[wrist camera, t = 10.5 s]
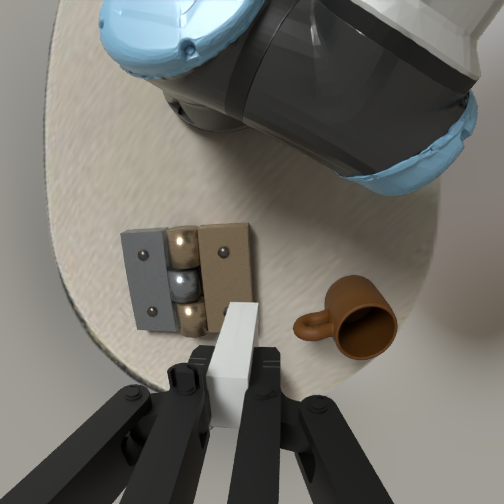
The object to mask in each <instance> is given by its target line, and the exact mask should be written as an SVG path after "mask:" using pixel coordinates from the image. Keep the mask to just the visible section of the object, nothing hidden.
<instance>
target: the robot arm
mask: <svg viewBox="0 0 504 504" xmlns="http://www.w3.org/2000/svg"><path fill="white" fill-rule="evenodd" d="M503 5H504V0H104V1H103V4H102V7H101V10H100V15H99V24H98V25H99V28H100V34H101V35H100V40H101V43H102V45H103V47H104V49H105V50H106V52H107V53H108V55H109V56H110V57H111V58H112V59H113V60H114V61H116V62H117V63H118V64H119V65H120V67H121V68H122V69H123V70H125V71H126V72H127V73H128V74H130V75H132V76H134V77H137V78H142V79H145V80H146V81H148V82H150V83H152V84H153V85H155V86H157V87H158V88H160V89H162V90H163V93H164V96H165V99H166V101H167V102H168V104H169V106H170V107H171V108H172V110H173V111H174V112H175V113H176V114H177V115H178V116H179V117H180V118H181V119H183V120H184V121H186V122H187V123H189V124H191V125H193V126H195V127H198V128H200V129H203V130H207V131H212V132H232V131H237V130H241V129H244V128H247V127H249V126H250V127H252V128H254V129H257V130H259V131H261V132H263V133H265V134H267V135H269V136H271V137H273V138H275V139H277V140H279V141H281V142H283V143H284V144H286V145H288V146H290V147H292V148H294V149H296V150H298V151H300V152H302V153H303V154H305V155H307V156H309V157H311V158H313V159H314V160H316V161H318V162H320V163H322V164H323V165H325V166H327V167H329V168H331V169H332V170H333V171H334V172H335V173H336V174H337V175H338V176H340V177H341V178H343V179H347V180H348V181H354V182H356V183H358V184H360V185H362V186H364V187H365V188H367V189H369V190H371V191H373V192H375V193H377V194H380V195H385V196H400V195H405V194H408V193H411V192H414V191H416V190H418V189H420V188H422V187H424V186H425V185H427V184H429V183H430V182H432V181H433V180H434V179H436V178H437V177H438V176H440V175H441V174H442V173H443V172H444V171H445V170H446V169H447V168H448V167H449V166H450V165H451V164H452V163H453V162H454V161H455V160H456V158H457V157H458V156H459V154H460V153H461V152H462V150H463V149H464V144H463V140H465V139H466V138H467V137H469V136H471V135H472V133H473V130H474V128H475V125H476V121H477V110H478V106H477V102H476V99H475V97H474V95H473V92H472V90H471V88H472V87H473V85H474V84H475V83H476V82H477V81H478V80H479V78H480V77H481V71H480V65H479V59H478V54H477V40H478V39H479V37H480V36H481V35H482V34H483V32H484V31H485V29H486V28H487V27H488V26H489V24H490V23H491V22H492V20H493V19H494V18H495V16H496V15H497V13H498V12H499V11H500V9H501V8H502V6H503ZM167 373H168V379H169V384H170V389H169V391H167V392H162V393H152V394H150V392H149V390H148V389H147V388H146V387H144V386H142V385H137V384H135V385H128V386H125V387H123V388H122V389H120V390H119V391H118V392H117V393H116V394H115V395H114V396H113V397H112V398H110V399H109V400H108V401H107V402H106V403H105V404H104V405H103V406H102V407H101V408H100V409H99V410H98V411H96V412H95V413H94V414H93V415H92V416H91V417H90V418H89V419H88V420H87V421H86V422H85V423H83V424H82V425H81V426H80V427H79V428H78V429H77V430H76V431H75V432H74V433H73V434H72V435H70V436H69V437H68V438H67V439H66V440H65V441H64V442H63V443H62V444H61V445H60V446H59V447H57V449H55V450H54V451H53V452H52V453H51V454H50V455H49V456H48V457H47V458H45V459H44V460H43V461H42V462H41V463H40V464H39V465H38V466H37V467H36V468H35V469H33V470H32V471H31V472H30V473H29V474H28V475H27V476H26V477H25V478H24V479H22V480H21V481H20V482H19V483H18V484H17V485H16V486H15V487H14V488H13V489H11V491H9V492H8V493H7V494H6V495H5V496H4V497H3V498H1V499H0V504H112V503H113V502H114V501H115V500H116V498H117V497H118V496H119V495H120V494H121V492H122V491H123V490H124V489H125V487H126V486H127V487H126V489H125V492H124V494H123V496H122V499H121V501H120V503H119V504H193V503H194V499H195V495H196V491H197V486H198V482H199V478H200V474H201V470H202V466H203V462H204V458H205V454H206V450H207V445H208V441H209V437H210V431H209V425H210V421H211V423H212V427H223V428H238V429H239V434H238V440H237V446H236V452H235V459H234V465H233V471H232V477H231V484H230V490H229V495H228V501H227V504H278V502H279V468H280V448H281V449H285V450H289V451H293V452H295V457H296V459H297V462H298V465H299V468H300V470H301V473H302V476H303V478H304V481H305V484H306V486H307V489H308V492H309V494H310V497H311V499H312V502H313V504H394V503H393V501H392V499H391V498H390V496H389V495H388V492H387V491H386V489H385V487H384V486H383V484H382V482H381V481H380V479H379V477H378V475H377V474H376V472H375V470H374V469H373V467H372V465H371V464H370V462H369V460H368V458H367V457H366V455H365V453H364V451H363V450H362V448H361V446H360V445H359V443H358V441H357V439H356V438H355V436H354V434H353V433H352V431H351V429H350V427H349V426H348V424H347V422H346V420H345V419H344V417H343V415H342V414H341V412H340V410H339V408H338V407H337V405H336V403H335V402H334V401H333V400H332V399H330V398H328V397H326V396H322V395H312V396H309V397H306V398H305V399H303V400H302V401H301V402H299V401H295V400H292V399H289V398H288V397H286V396H285V395H284V394H283V393H282V392H281V388H280V352H279V351H278V350H277V348H276V347H258V303H250V302H230V304H229V307H228V310H227V313H226V316H225V319H224V322H223V325H222V329H221V332H220V335H219V338H218V341H217V344H216V346H206V345H199V346H198V347H197V348H196V349H194V350H193V352H192V354H191V356H190V359H189V361H188V363H179V364H175V365H173V366H172V367H170V368H169V369H168V370H167Z"/></svg>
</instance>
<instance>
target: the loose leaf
mask: <svg viewBox="0 0 504 504" xmlns="http://www.w3.org/2000/svg"><path fill="white" fill-rule="evenodd" d="M167 230H168V227H166V228H149V229H133V230H127V231H125V232H122V233H120V234H121V242H122V249H123V255H124V262H125V268H126V274H127V280H128V285H129V291H130V296H131V301H132V306H133V311H134V316H135V321H136V326H137V330H151V331H171V332H176V331H177V329H178V328H179V326H180V325H179V319H178V313H177V306H176V302H179V303H186V302H191V301H195V300H197V299H199V298H200V297H201V291H200V282H199V273H198V266H196V267H193V268H187V269H176V268H172V267H171V263H170V255H169V247H168V238H167Z"/></svg>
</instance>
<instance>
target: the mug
mask: <svg viewBox="0 0 504 504" xmlns="http://www.w3.org/2000/svg"><path fill="white" fill-rule="evenodd" d="M314 326H316V327H314ZM293 330H294V334H295V335H296V336H297V337H298V338H300V339H302V340H305V341H319V340H322V339H325V338H328V337H333V338H334V341H335V342H336V345H337V347H338V349H339V350H340V351H341V352H342V353H343V354H344V355H345V356H347V357H349V358H352V359H356V360H367V359H371V358H374V357H376V356H378V355H380V354H381V353H383V352H384V351H385V350H387V348H388V347H389V346H390V345H391V344H392V342H393V341H394V338H395V336H396V333H397V320H396V317H395V314H394V313H393V311H392V309H391V307H390V305H389V304H388V303H387V301H386V300H385V298H384V297H383V296H382V294H381V293H380V292H379V291H378V289H377V288H376V287H375V286H374V284H373V283H372V282H371V281H369V280H368V279H366V278H364V277H361V276H356V275H351V276H346V277H343V278H341V279H339V280H338V281H336V282H335V283H334V284H333V285H332V286H331V287H330V288H329V290H328V292H327V294H326V297H325V310H323V311H320V312H316V313H309V314H306V315H303V316H301V317H299V318H298V319H297V320H296V322H295V323H294V326H293Z"/></svg>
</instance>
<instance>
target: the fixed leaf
mask: <svg viewBox="0 0 504 504" xmlns="http://www.w3.org/2000/svg"><path fill="white" fill-rule="evenodd" d="M167 238H168V247H169V255H170V263H171V267H172V268H176V269H187V268H193V267H196V266H199V265H201V271H202V281H203V290H204V296H202V295H201V297H200V298H199V299H197V300H195V301H191V302H186V303H179V302H176V306H177V313H178V319H179V325H180V331H181V334H182V335H183V336H185V337H191V338H194V337H200V336H203V335H205V334H207V333H208V332H221V329H222V325H223V322H224V319H225V316H226V313H227V310H228V307H229V304H230V302H250V303H253V286H252V268H251V251H250V233H249V223H233V224H212V225H201V226H200V227H198V226H180V227H174V228H170V229H168V230H167Z"/></svg>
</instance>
